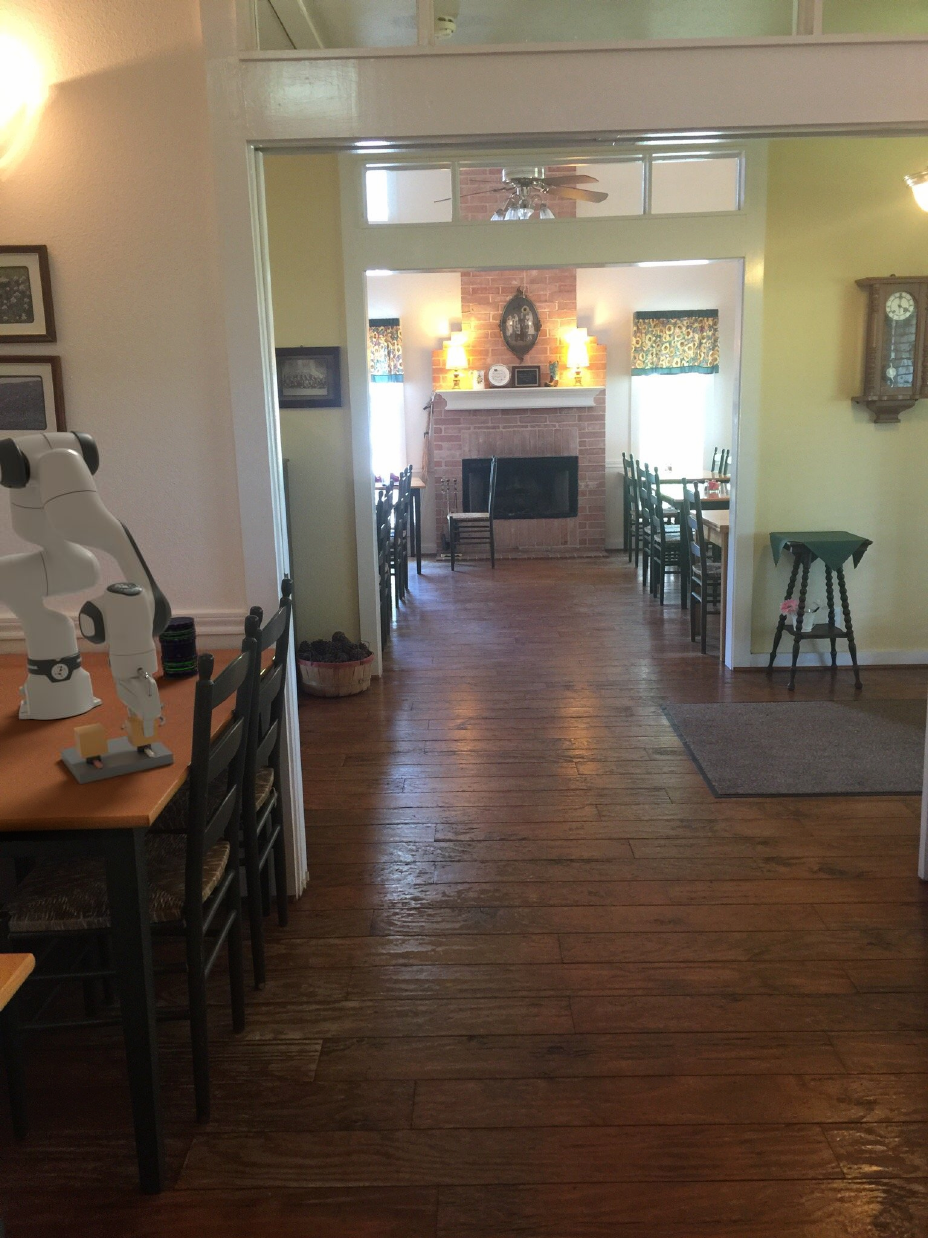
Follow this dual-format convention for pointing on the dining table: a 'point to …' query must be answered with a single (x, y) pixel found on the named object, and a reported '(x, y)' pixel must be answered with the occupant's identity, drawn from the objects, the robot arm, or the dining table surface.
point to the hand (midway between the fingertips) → (142, 730)
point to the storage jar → (179, 648)
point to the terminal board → (110, 755)
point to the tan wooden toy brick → (139, 732)
